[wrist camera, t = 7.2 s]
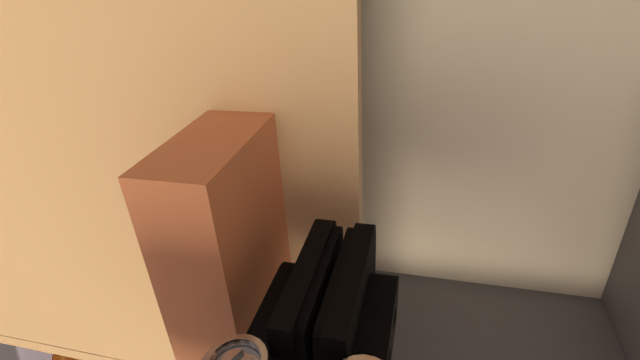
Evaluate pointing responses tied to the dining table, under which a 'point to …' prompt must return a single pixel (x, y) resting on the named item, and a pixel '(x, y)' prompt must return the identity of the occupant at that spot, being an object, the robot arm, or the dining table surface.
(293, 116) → the lid
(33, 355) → the dining table surface
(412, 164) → the box
